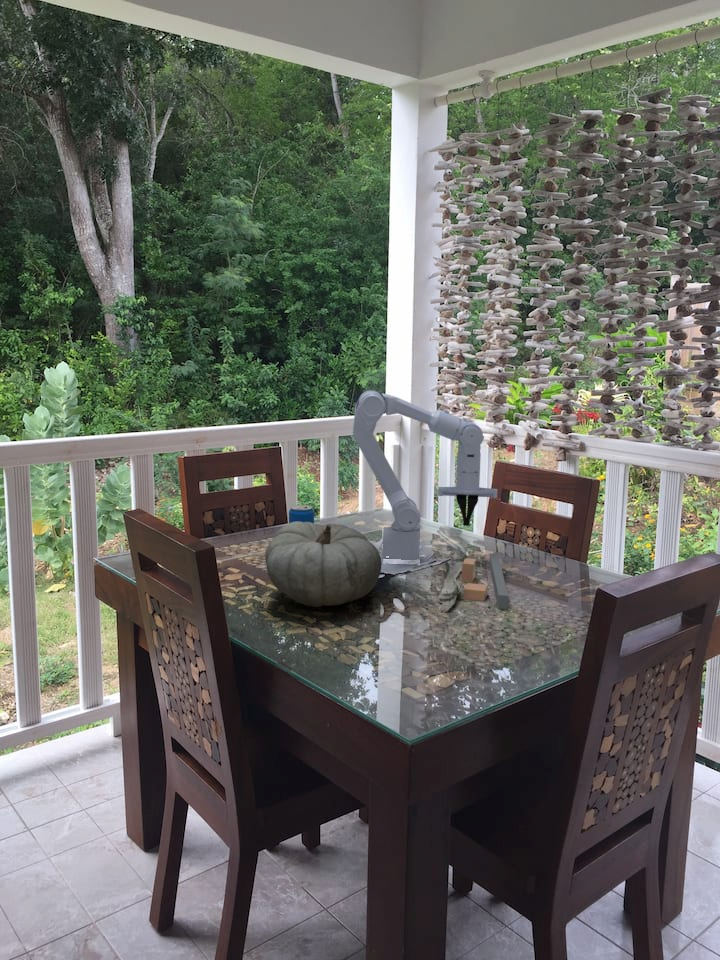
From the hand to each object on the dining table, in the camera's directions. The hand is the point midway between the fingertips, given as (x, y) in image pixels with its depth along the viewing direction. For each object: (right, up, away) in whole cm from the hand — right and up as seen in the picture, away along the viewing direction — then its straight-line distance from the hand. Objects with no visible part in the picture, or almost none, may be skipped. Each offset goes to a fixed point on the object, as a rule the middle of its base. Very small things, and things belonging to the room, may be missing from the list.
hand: (466, 524), depth 205 cm
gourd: (-35, -15, -28) cm, 47 cm away
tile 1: (-1, -15, -25) cm, 29 cm away
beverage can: (-42, -8, +8) cm, 43 cm away
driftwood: (-8, -12, -18) cm, 23 cm away
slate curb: (+5, -13, -17) cm, 22 cm away
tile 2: (0, -10, -14) cm, 17 cm away
